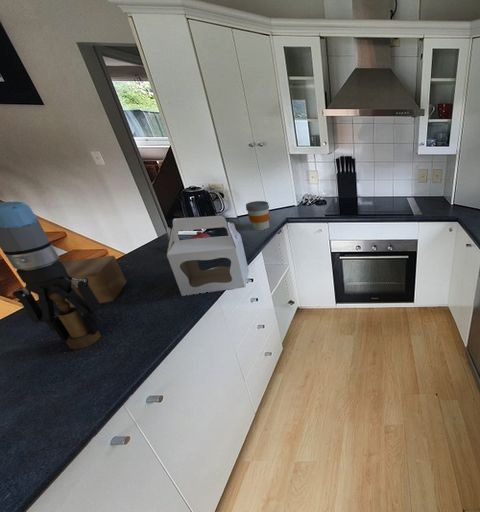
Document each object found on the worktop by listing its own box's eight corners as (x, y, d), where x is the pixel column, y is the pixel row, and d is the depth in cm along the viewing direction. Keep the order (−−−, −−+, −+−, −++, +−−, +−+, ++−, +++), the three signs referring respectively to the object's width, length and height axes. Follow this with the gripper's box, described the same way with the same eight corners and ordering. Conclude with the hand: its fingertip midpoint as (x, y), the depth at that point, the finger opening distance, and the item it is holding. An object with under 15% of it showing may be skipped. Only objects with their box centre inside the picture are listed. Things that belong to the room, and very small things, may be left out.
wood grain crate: (60, 310, 92) (41, 280, 87) (80, 289, 104) (64, 262, 98) (113, 301, 98) (99, 272, 93) (126, 282, 109) (114, 255, 104)
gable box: (249, 271, 119) (235, 209, 106) (246, 287, 108) (230, 220, 95) (191, 278, 112) (168, 213, 100) (180, 296, 101) (154, 225, 89)
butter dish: (188, 246, 141) (183, 230, 137) (213, 240, 148) (208, 226, 144) (192, 253, 133) (187, 237, 129) (218, 247, 140) (214, 232, 136)
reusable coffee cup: (255, 232, 159) (250, 208, 153) (246, 227, 167) (241, 203, 160) (276, 227, 168) (272, 203, 161) (266, 222, 175) (262, 199, 168)
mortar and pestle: (82, 334, 83) (51, 284, 75) (106, 332, 84) (79, 282, 76) (63, 351, 77) (27, 298, 69) (90, 348, 78) (58, 296, 70)
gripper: (-29, 278, 62) (28, 353, 72) (80, 263, 69) (117, 333, 80) (-5, 264, 68) (44, 335, 78) (93, 252, 75) (126, 318, 86)
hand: (81, 334), depth 79 cm, fingers closed on mortar and pestle, 6 cm apart
